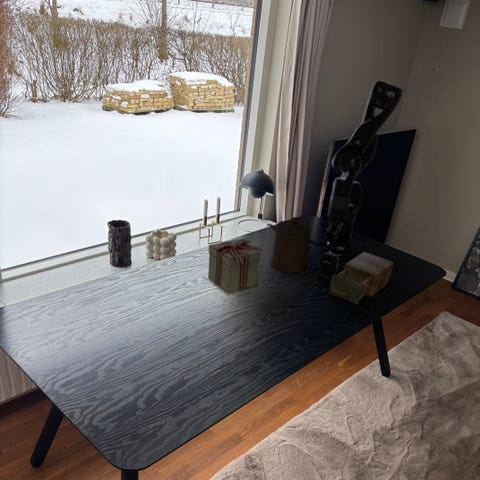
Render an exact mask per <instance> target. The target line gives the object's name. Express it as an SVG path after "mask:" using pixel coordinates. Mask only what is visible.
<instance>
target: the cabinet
mask: <svg viewBox="0 0 480 480" xmlns="http://www.w3.org/2000/svg"><path fill="white" fill-rule="evenodd" d="M394 264H395V261H393V260H390V259H386V258H383V257H380V256H377V255H375V254H371V253H369V252H365V251H363V252H362V253H360V254H358V255H357V256H355V257H354V258H353V259H351V260H349V261H347V262H346V263H345V264H344V269H343V271H344V270H345V269H347V268H348V267H350V268H353V269H355V270H358V271H361V272H364V273H367V274H369V275H372V276H374V280H373V284H372V288H371V292H369V293H368V294H367V295H366V296H368V297H370V298H371V297H374V295H376V294H377V293H378V292H380V291H381V290H382V289H383V288H384V287H386V286H387V285H388V284H389V283H390V281H391V276H392V273H393V272H392V271H393V269H394Z"/></svg>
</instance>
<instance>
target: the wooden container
mask: <svg viewBox="0 0 480 480" xmlns="http://www.w3.org/2000/svg"><path fill="white" fill-rule="evenodd" d="M276 228H277V229H275V230H276V231H275V232H276V233H275V238H274V244H273V252H272V262H271V265H272V266H273V268H275V269H276V270H279V271H281V272H284V273H299V272H302V271H304V270H305V269H306V267H307V260H308V254H309V246H310V241H309V239H310V240H311V235H312V234H311V233H312V227H311V225H310V224H308V223H307V222H303V221H300V218H298V217H297V216H293V217H291V218H290V219H289V220H281V221H279V222H278V223H277V225H276Z"/></svg>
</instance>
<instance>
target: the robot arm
mask: <svg viewBox="0 0 480 480" xmlns="http://www.w3.org/2000/svg"><path fill="white" fill-rule="evenodd" d="M402 95H403V89H402V88H401V87H399V86H397V85H394V84H392V83H389V82H386V81H383V80H376V81H375V83H374V84H373V86H372V88H371V91H370V93H369V96H368V99H367V103H366V107H365V109H364V114H363V118H362V121H361V123H360V125H358V127H356V129H355V130H354V132H353V134H352V136H350V139H349V140H348V141H347V142H346V143H345V144H344V145H343V146H341V147H340V149H338V150H337V151H336V153H335V154H334V156H333V158H332V161H331V166H332V168H333V169H334V170H335V171H337V172H341V173H342V174H341V176H340V177H336V178H334V181H333V184H332V191H331V195H330V198H329V204H328V209H327V217H328V219H329V222H328V227H325V228H324V233H325V236H326V239H327V240H323V241H320V242H316V241H314V240H312V239H311V238H310V239H309V243H311V244H314V245H317V246H321V245H322V244H325V247H327V250H326V251H327V253H332V254H334V255H337V256H338V257H348V255H349V254H350V247H351V242H352V237H353V232H354V227H355V223H356V217H357V216H358V214H359V210H360V208H361V204H362V200H363V199H362V198H363V190H364V189H363V186H362V184H361V183H360V182H358V181H356V179H357V176H358V175H359V174H361V173H362V171H364V169H365V168H366V167H367V166H368V165H369V164H370V162H371V161H372V160H373V158H374V155H375V153H376V150H377V147H378V143H379V139H378V133H377V132H378V131H379V130H380V129H381V128H382V127H383V125H384V124H385V123H386V122H387V120H388V119H389V118H390V117H391V116H392V114H393V113H394V112H395V110H396V109H397V107H398V105H399V103H400V102H401V99H402ZM376 109H378V110H380V112H379V113H378V114H377V115H376ZM272 226H274V225H273V224H271V223H268V224H266V227H271V228H273V229H274V230H277V226H274V227H272Z"/></svg>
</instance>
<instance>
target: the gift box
mask: <svg viewBox="0 0 480 480" xmlns="http://www.w3.org/2000/svg"><path fill="white" fill-rule="evenodd" d="M250 243H251V241H250V240H248V239H246V238H241V239H240V238H236V239H232V240H225V241H222V242H217V243H213V244H210V245H208V255H209V257H208V271H207V272H208V274H207V275H208V276H207V278H208V280H210V281H211V282H212V283H213V284H214V285H216V286H217V287H219V288H220V289H221V290H223V291H224V292H225V293H226V294H230V293H235V292H237V291H241V290H245V289H247V288H253V287H255V286H257V282H258V273H259V272H258V271H259V262H260V260H261V254H262V253H261V252H264V250H263V249H261V248H259V247H258V246H255V245H250Z"/></svg>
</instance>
